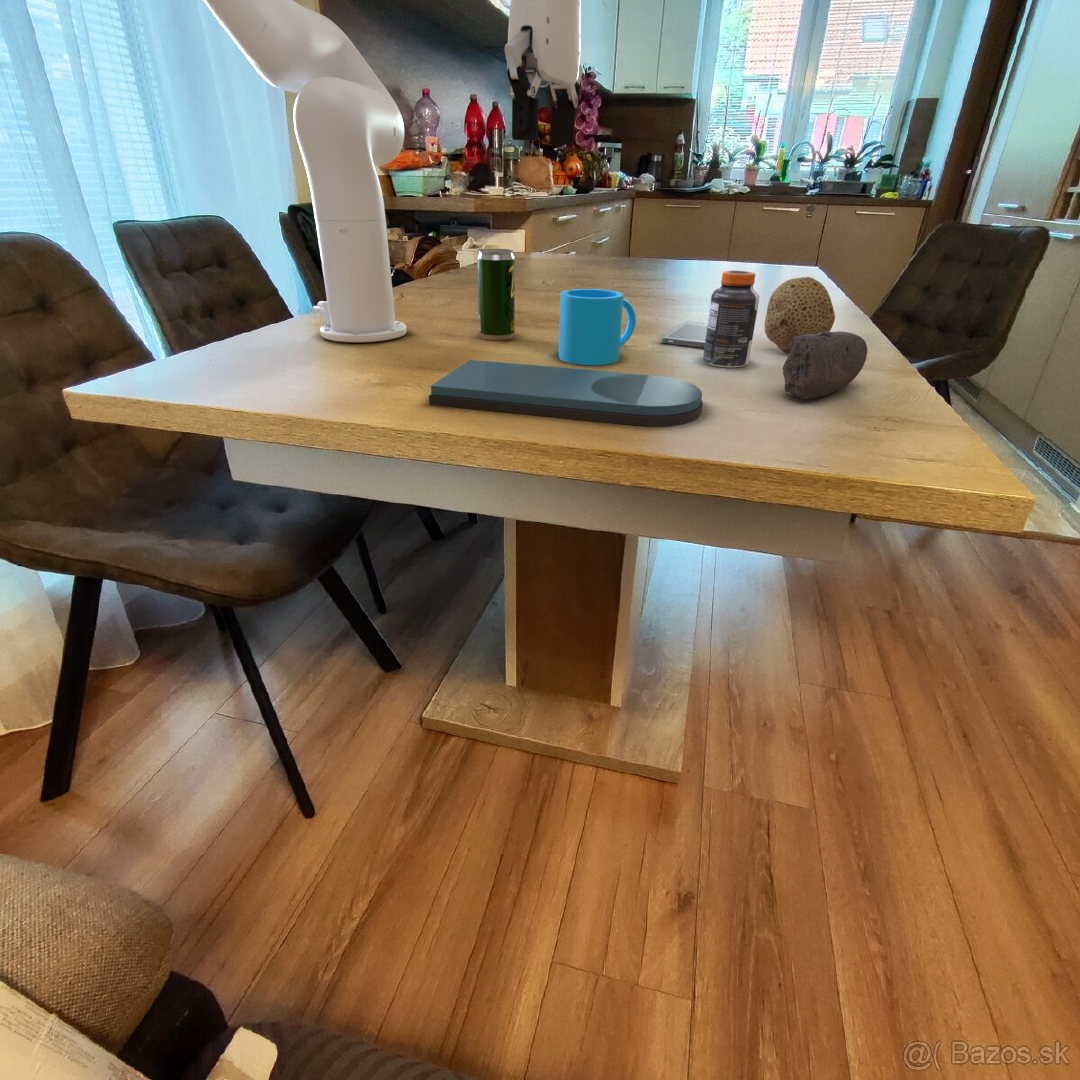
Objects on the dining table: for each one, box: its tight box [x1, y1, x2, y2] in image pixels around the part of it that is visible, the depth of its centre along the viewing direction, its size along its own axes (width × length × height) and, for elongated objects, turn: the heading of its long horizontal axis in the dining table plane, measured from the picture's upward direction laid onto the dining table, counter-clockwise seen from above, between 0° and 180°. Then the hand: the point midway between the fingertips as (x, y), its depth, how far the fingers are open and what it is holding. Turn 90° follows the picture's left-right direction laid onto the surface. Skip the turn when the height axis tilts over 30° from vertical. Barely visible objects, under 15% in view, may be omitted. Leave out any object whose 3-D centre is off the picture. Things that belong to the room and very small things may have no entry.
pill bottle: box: [702, 270, 760, 368], centre depth 82 cm, size 6×6×11 cm
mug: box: [558, 288, 637, 366], centre depth 85 cm, size 12×8×8 cm
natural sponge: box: [764, 276, 836, 353], centre depth 88 cm, size 9×9×10 cm
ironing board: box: [428, 359, 704, 427], centre depth 69 cm, size 28×12×2 cm, turn 75°
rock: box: [782, 330, 868, 399], centre depth 72 cm, size 15×5×7 cm, turn 127°
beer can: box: [476, 248, 516, 341], centre depth 93 cm, size 5×5×12 cm
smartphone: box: [661, 320, 708, 348], centre depth 98 cm, size 15×8×1 cm, turn 154°
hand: (544, 142), depth 78 cm, fingers open, 9 cm apart
